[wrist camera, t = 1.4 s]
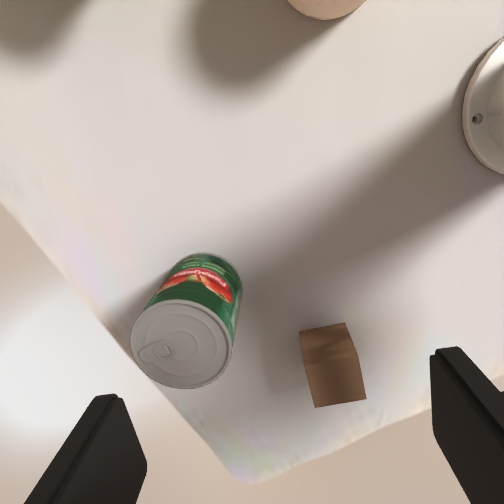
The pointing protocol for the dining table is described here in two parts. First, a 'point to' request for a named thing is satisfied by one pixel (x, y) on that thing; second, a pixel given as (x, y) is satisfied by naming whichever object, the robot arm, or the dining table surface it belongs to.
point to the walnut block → (332, 365)
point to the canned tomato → (189, 323)
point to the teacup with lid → (325, 8)
